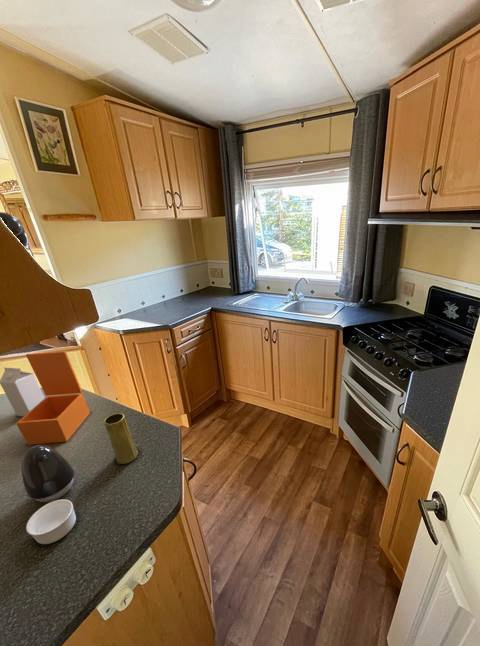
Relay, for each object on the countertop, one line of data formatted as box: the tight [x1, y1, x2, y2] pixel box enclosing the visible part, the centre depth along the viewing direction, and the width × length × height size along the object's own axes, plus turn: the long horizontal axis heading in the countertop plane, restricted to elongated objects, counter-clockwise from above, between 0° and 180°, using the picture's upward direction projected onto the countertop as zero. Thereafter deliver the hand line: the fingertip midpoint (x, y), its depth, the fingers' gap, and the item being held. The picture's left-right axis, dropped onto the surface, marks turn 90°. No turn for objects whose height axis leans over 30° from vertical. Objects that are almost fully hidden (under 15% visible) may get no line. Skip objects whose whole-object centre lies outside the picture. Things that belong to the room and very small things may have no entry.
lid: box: [25, 350, 83, 397], centre depth 101 cm, size 16×13×1 cm
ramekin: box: [25, 498, 77, 545], centre depth 67 cm, size 9×9×4 cm
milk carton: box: [0, 366, 45, 417], centre depth 108 cm, size 7×7×19 cm
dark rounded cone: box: [21, 444, 75, 503], centre depth 74 cm, size 10×10×15 cm
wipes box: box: [15, 393, 91, 446], centre depth 100 cm, size 16×13×9 cm
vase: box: [103, 412, 139, 465], centre depth 84 cm, size 6×6×14 cm
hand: (49, 328), depth 104 cm, fingers closed
